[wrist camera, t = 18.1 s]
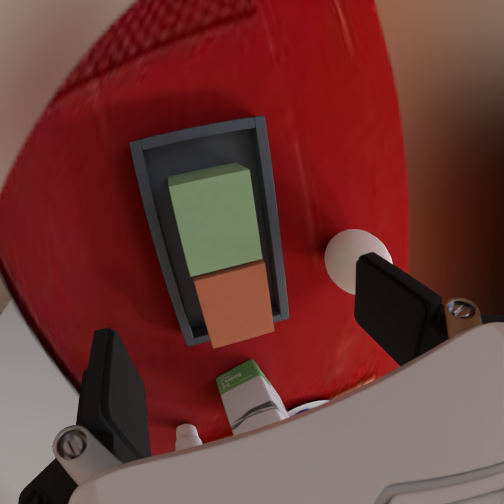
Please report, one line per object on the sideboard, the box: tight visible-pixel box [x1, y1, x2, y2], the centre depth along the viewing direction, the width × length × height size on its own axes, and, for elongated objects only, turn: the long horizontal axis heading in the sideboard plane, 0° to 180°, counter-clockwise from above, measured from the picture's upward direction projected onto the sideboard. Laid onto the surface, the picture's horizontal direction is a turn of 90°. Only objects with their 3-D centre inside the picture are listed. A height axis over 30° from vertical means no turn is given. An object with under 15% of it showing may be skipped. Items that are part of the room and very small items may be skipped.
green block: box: [168, 162, 262, 277], centre depth 22 cm, size 5×6×4 cm
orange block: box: [192, 259, 274, 348], centre depth 25 cm, size 5×6×4 cm
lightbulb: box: [175, 423, 202, 451], centre depth 29 cm, size 6×6×11 cm
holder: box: [129, 116, 289, 346], centre depth 24 cm, size 10×18×2 cm, turn 8°
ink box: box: [216, 359, 289, 436], centre depth 28 cm, size 9×5×12 cm, turn 24°
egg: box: [324, 229, 393, 295], centre depth 26 cm, size 5×5×8 cm
